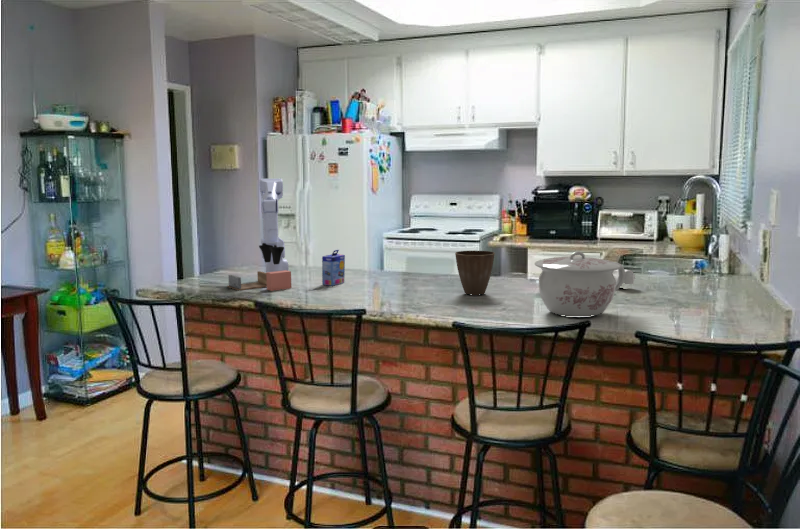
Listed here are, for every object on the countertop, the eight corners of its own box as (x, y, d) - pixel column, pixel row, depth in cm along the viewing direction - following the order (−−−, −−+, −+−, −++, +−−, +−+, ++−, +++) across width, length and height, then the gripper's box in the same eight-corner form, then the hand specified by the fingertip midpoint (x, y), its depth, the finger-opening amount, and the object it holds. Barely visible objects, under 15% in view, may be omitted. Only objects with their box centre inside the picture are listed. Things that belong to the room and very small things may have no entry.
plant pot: (447, 294, 246) (447, 253, 244) (467, 288, 258) (468, 249, 256) (481, 299, 237) (482, 256, 235) (501, 293, 249) (501, 252, 247)
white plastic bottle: (597, 282, 272) (598, 263, 271) (634, 289, 256) (635, 269, 255) (584, 284, 268) (585, 265, 267) (621, 291, 252) (622, 270, 251)
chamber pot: (524, 319, 206) (526, 254, 203) (542, 302, 231) (543, 245, 228) (616, 327, 195) (619, 259, 192) (624, 309, 220) (627, 248, 217)
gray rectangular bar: (231, 285, 266) (231, 274, 265) (241, 288, 259) (240, 277, 258) (228, 285, 265) (228, 275, 264) (238, 288, 258) (237, 277, 257)
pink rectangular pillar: (286, 287, 265) (286, 270, 264) (291, 288, 262) (291, 271, 261) (266, 289, 260) (266, 272, 259) (271, 291, 257) (271, 273, 256)
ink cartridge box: (332, 286, 266) (332, 251, 264) (321, 285, 268) (320, 250, 266) (345, 282, 274) (345, 248, 272) (334, 281, 277) (334, 248, 275)
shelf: (261, 282, 275) (261, 271, 274) (272, 286, 267) (272, 274, 266) (227, 287, 265) (226, 275, 264) (237, 290, 257) (237, 278, 257)
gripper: (253, 228, 261) (254, 262, 263) (270, 231, 250) (271, 266, 252) (269, 227, 265) (270, 260, 267) (286, 230, 254) (287, 264, 256)
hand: (272, 263), depth 260 cm, fingers open, 7 cm apart
